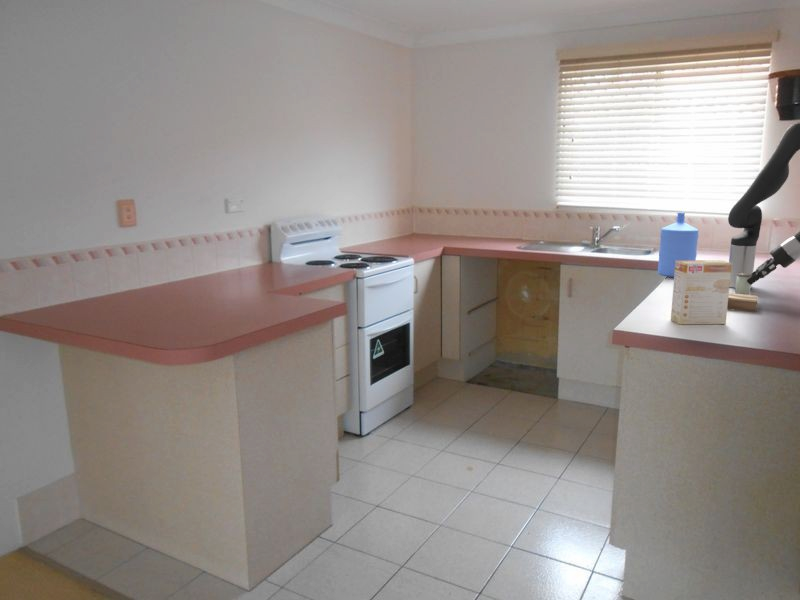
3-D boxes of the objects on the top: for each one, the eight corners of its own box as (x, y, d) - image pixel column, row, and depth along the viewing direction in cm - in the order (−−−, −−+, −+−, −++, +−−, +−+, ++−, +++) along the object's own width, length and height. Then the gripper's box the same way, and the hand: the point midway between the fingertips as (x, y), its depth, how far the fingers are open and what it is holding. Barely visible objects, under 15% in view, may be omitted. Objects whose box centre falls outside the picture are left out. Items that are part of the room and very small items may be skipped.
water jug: (698, 278, 290) (704, 214, 284) (660, 277, 293) (665, 214, 287) (690, 273, 305) (696, 212, 299) (654, 271, 308) (659, 211, 302)
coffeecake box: (715, 319, 213) (721, 259, 209) (726, 324, 206) (733, 263, 202) (669, 319, 212) (674, 259, 208) (679, 324, 205) (685, 263, 201)
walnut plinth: (725, 303, 237) (726, 292, 236) (756, 306, 232) (757, 295, 232) (723, 308, 229) (724, 297, 228) (755, 311, 224) (757, 300, 223)
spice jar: (734, 298, 246) (737, 272, 244) (749, 300, 243) (752, 273, 241) (733, 301, 242) (736, 274, 240) (748, 302, 239) (751, 275, 237)
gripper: (780, 242, 239) (742, 270, 247) (781, 246, 227) (740, 276, 235) (795, 257, 238) (756, 285, 246) (797, 262, 226) (755, 292, 233)
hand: (748, 281), depth 240 cm, fingers open, 8 cm apart
